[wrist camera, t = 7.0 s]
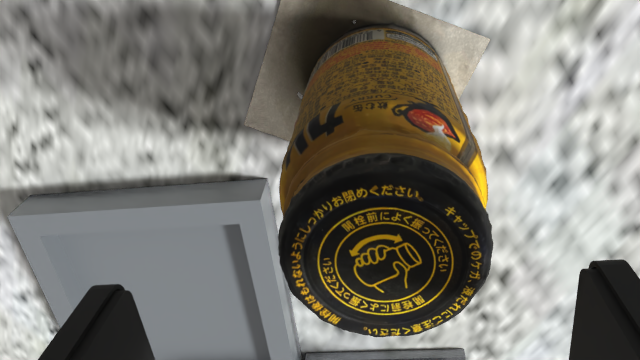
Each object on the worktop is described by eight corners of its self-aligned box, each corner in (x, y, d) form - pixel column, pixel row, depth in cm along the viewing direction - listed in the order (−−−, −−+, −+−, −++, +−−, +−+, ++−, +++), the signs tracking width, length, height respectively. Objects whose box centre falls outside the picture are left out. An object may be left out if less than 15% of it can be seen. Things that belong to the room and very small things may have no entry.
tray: (30, 195, 27) (7, 216, 25) (267, 178, 25) (260, 200, 24) (111, 378, 33) (96, 405, 32) (305, 373, 32) (301, 401, 30)
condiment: (415, 183, 25) (449, 395, 15) (244, 123, 24) (150, 302, 14) (489, 37, 22) (604, 180, 11) (292, -38, 21) (214, 39, 10)
